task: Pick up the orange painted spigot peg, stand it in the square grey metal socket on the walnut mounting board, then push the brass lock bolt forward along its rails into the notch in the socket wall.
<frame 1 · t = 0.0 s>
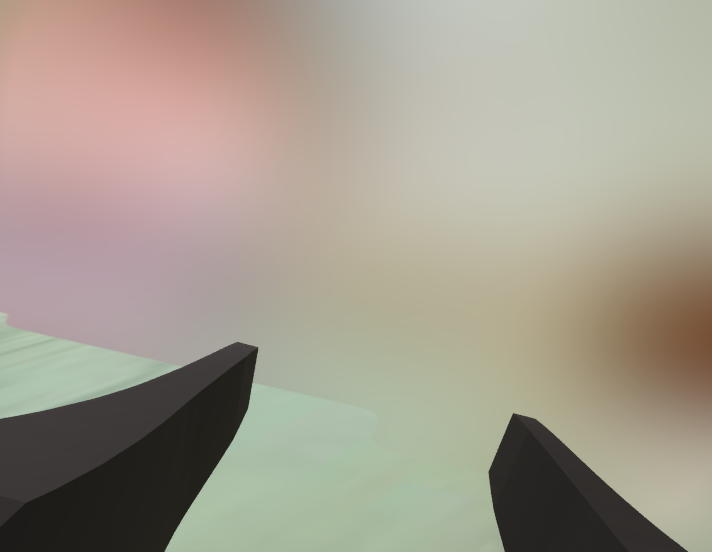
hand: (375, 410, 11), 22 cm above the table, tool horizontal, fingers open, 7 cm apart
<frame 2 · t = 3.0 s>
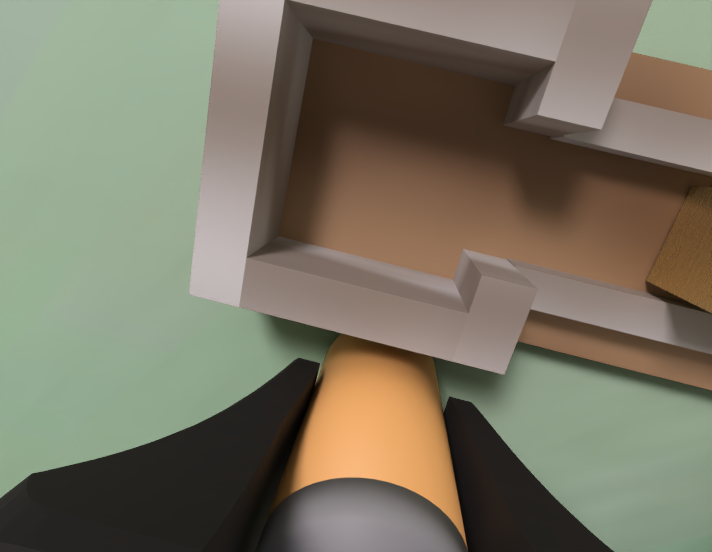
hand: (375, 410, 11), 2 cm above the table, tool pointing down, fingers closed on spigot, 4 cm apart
spigot: (378, 373, 13), on the table, touching gripper
mount: (629, 236, 11), on the table
when the fingers open (4 cm above the table, at t = 5.5 s): spigot stays where it is, resting on mount.
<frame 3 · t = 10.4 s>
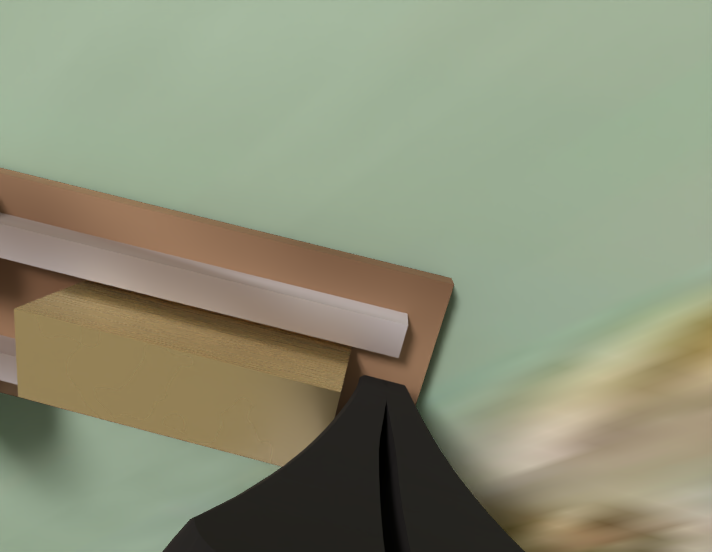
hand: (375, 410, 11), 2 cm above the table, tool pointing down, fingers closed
lock bolt: (196, 368, 11), point 2 cm above the table, slide at 0.3 cm, touching gripper
mount: (99, 314, 13), on the table
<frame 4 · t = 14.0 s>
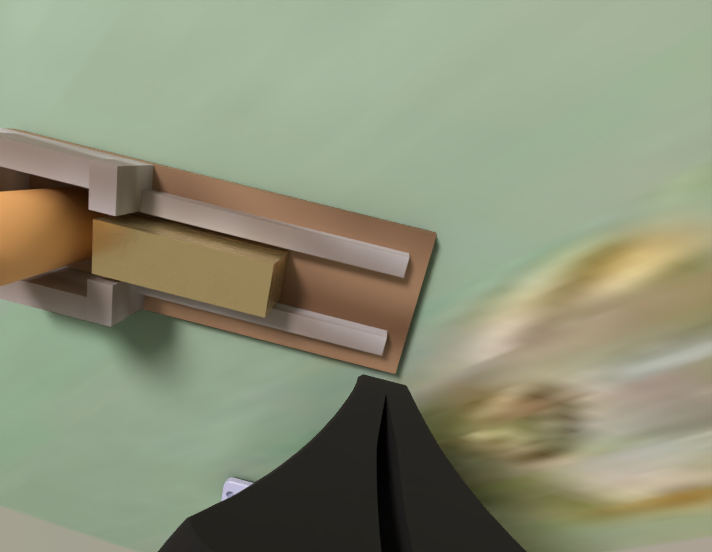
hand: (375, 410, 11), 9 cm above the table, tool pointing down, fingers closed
spigot: (77, 223, 20), point 1 cm above the table, touching mount
lock bolt: (194, 261, 18), point 2 cm above the table, slide at 4.6 cm
mount: (213, 258, 20), on the table
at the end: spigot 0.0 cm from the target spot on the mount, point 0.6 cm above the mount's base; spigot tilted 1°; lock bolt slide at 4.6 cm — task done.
